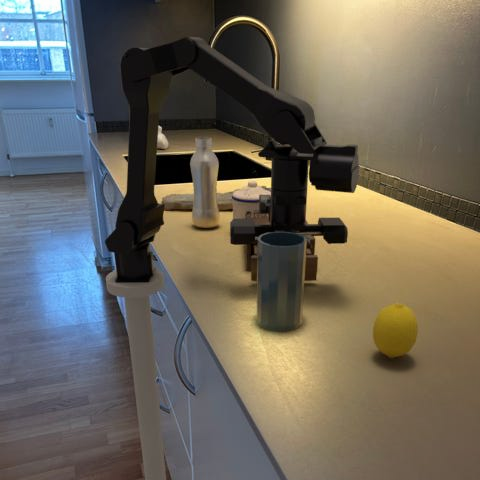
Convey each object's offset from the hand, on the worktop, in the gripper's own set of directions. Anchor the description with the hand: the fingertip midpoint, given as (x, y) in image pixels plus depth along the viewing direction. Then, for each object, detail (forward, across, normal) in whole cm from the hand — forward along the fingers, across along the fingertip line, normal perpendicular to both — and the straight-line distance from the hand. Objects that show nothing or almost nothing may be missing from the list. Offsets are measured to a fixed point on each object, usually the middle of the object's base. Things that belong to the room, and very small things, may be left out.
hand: (285, 279), depth 87 cm
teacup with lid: (+2, +3, -32) cm, 32 cm away
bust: (+2, +39, -156) cm, 161 cm away
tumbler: (+2, +2, +12) cm, 12 cm away
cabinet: (+2, 0, -16) cm, 16 cm away
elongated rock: (+2, +10, -55) cm, 56 cm away
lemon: (+2, -12, +23) cm, 26 cm away
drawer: (+1, 0, -6) cm, 6 cm away
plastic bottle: (+2, +15, -37) cm, 40 cm away
